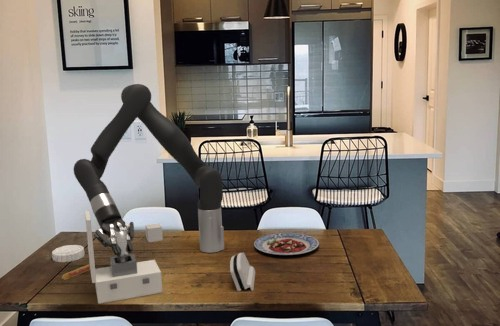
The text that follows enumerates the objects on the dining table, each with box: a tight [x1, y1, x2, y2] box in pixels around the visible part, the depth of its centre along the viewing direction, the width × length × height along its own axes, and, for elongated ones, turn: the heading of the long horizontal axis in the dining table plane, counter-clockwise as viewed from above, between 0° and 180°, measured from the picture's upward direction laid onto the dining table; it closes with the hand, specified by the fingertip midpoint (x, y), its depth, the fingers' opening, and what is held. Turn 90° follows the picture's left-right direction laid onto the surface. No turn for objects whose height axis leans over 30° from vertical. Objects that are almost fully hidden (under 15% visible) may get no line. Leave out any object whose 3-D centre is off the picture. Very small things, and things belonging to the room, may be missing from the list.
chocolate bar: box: [61, 263, 90, 281], centre depth 181 cm, size 3×12×2 cm, turn 147°
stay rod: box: [115, 229, 129, 263], centre depth 162 cm, size 4×4×12 cm
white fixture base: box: [84, 210, 163, 304], centre depth 162 cm, size 21×13×27 cm, turn 110°
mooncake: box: [51, 244, 85, 263], centre depth 199 cm, size 12×12×4 cm
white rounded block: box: [229, 252, 256, 292], centre depth 170 cm, size 17×5×10 cm, turn 177°
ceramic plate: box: [253, 232, 320, 256], centre depth 201 cm, size 26×26×3 cm
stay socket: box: [109, 253, 137, 277], centre depth 163 cm, size 8×8×4 cm
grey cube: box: [144, 223, 164, 243], centre depth 217 cm, size 6×6×6 cm
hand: (125, 253), depth 161 cm, fingers closed on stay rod, 3 cm apart
